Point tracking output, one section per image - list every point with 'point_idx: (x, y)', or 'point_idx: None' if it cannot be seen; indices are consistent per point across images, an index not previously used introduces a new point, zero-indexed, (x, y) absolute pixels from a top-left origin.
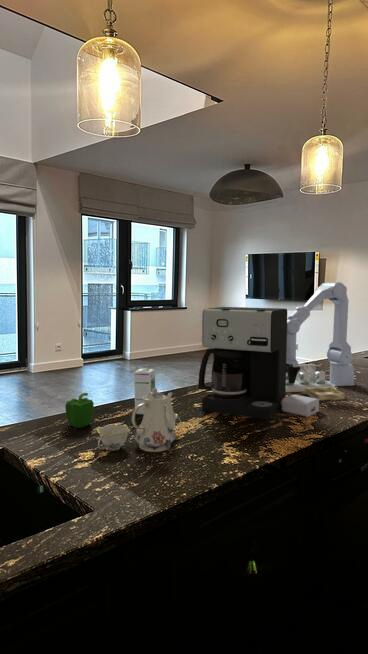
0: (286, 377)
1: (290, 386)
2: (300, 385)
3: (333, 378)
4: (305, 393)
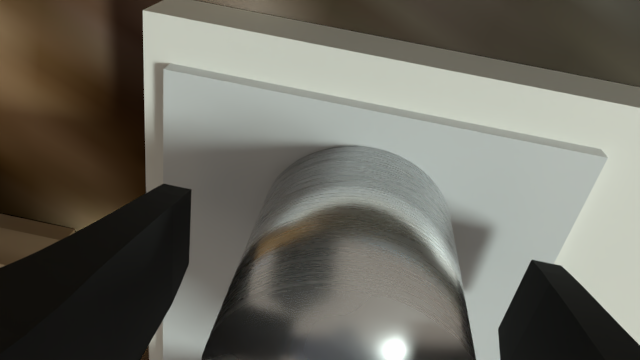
0: (260, 252)
1: (187, 170)
2: (213, 323)
3: None
4: (51, 227)
